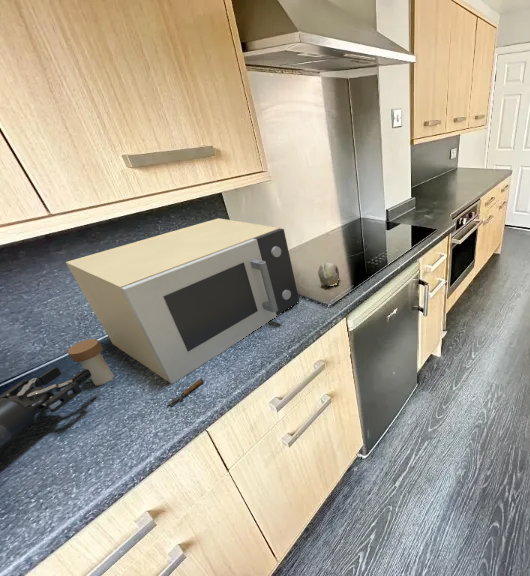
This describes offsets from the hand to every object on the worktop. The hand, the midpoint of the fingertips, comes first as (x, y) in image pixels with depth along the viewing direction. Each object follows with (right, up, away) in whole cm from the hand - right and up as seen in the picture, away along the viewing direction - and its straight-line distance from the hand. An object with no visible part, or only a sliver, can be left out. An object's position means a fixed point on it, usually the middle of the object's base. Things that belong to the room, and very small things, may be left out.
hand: (73, 371), depth 75 cm
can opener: (+26, -6, +1) cm, 27 cm away
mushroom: (+1, -4, +7) cm, 8 cm away
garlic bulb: (+53, +21, +48) cm, 75 cm away
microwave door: (+31, +3, +15) cm, 35 cm away
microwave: (+18, +8, +29) cm, 35 cm away
